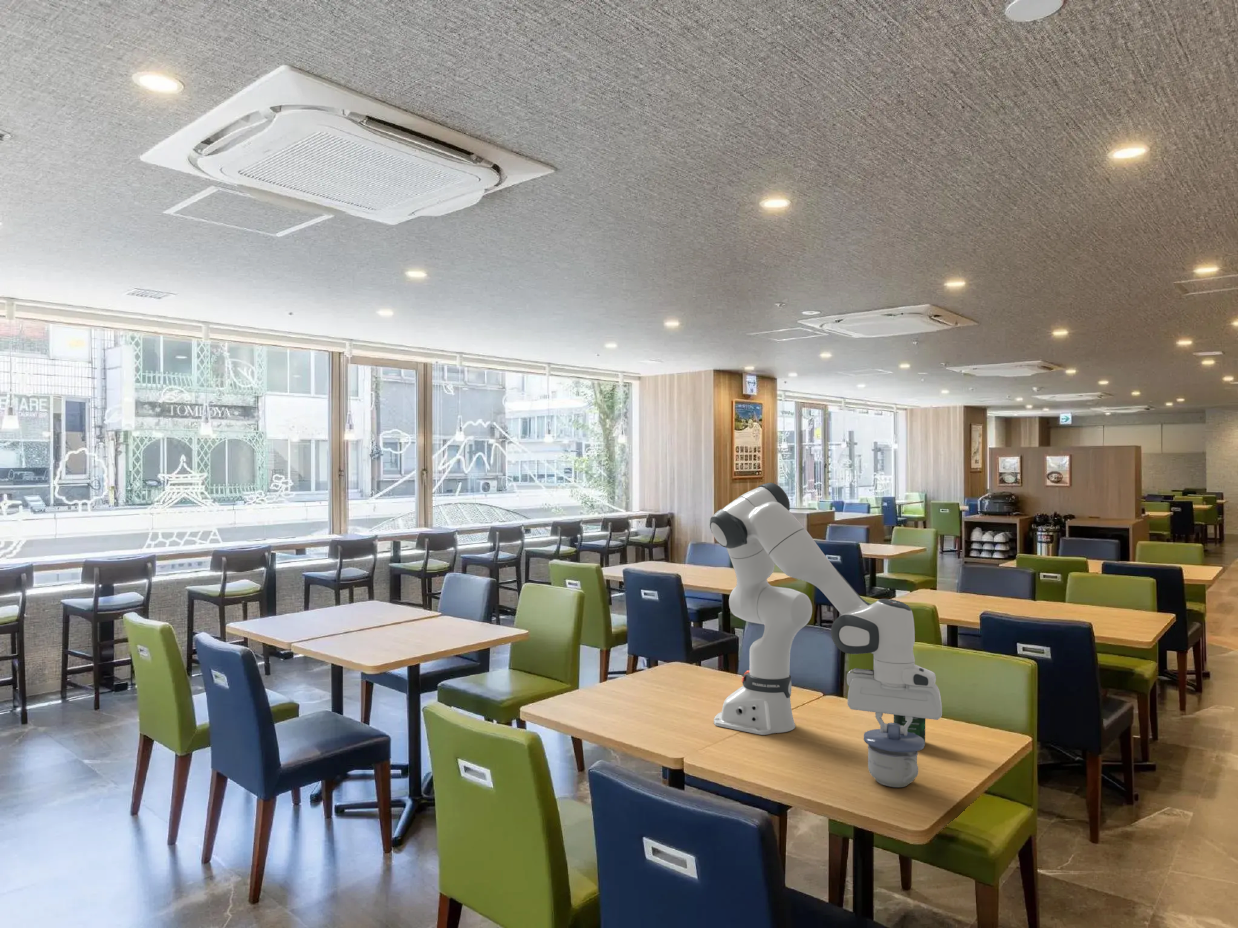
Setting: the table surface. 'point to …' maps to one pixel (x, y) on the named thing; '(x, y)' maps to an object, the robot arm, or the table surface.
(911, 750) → the lid
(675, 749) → the table surface
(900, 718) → the coffee jar
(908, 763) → the teacup
